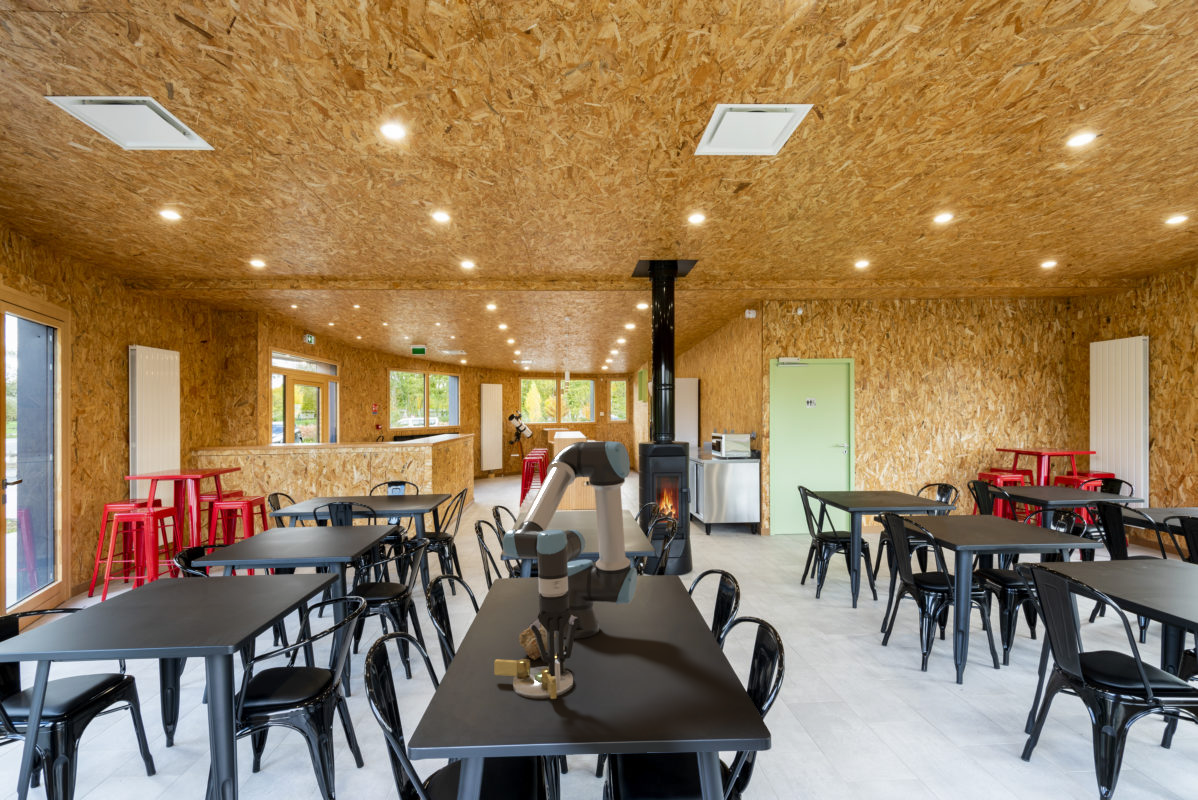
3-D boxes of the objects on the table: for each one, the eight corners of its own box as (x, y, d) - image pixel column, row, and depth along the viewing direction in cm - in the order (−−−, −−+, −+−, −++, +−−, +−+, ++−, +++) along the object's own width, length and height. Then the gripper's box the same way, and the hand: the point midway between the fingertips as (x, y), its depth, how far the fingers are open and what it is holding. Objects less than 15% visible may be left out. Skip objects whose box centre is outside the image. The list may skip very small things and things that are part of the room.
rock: (559, 652, 177) (559, 619, 177) (546, 665, 167) (545, 630, 167) (524, 648, 180) (524, 615, 181) (509, 661, 171) (508, 626, 171)
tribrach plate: (500, 686, 153) (500, 674, 153) (543, 667, 165) (543, 656, 166) (542, 704, 143) (542, 691, 143) (585, 682, 155) (585, 670, 155)
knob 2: (540, 684, 150) (540, 668, 151) (553, 682, 151) (553, 666, 151) (546, 700, 141) (546, 684, 141) (561, 698, 142) (560, 682, 142)
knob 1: (531, 674, 157) (531, 659, 157) (527, 679, 153) (527, 664, 153) (497, 672, 158) (497, 657, 159) (492, 677, 155) (492, 662, 155)
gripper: (532, 600, 140) (535, 699, 139) (582, 593, 144) (585, 689, 143) (525, 592, 147) (528, 686, 146) (573, 586, 152) (576, 677, 150)
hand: (556, 687), depth 145 cm, fingers closed
